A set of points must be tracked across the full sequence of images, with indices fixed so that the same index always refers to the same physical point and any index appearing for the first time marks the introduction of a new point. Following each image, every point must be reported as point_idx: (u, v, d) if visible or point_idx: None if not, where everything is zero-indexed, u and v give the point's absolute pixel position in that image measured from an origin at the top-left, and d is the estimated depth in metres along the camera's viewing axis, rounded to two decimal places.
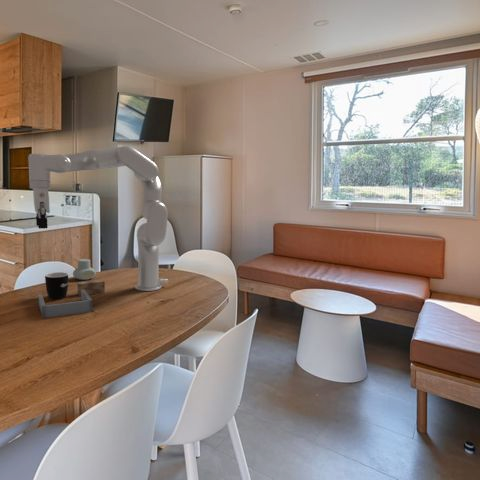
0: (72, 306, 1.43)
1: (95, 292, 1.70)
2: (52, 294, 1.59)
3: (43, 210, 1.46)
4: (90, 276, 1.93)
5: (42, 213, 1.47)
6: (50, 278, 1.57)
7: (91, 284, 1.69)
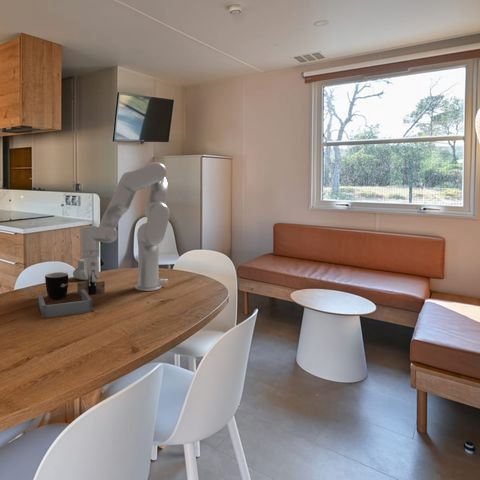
0: (72, 306, 1.43)
1: None
2: (52, 294, 1.59)
3: (94, 282, 1.65)
4: None
5: None
6: (50, 278, 1.57)
7: None
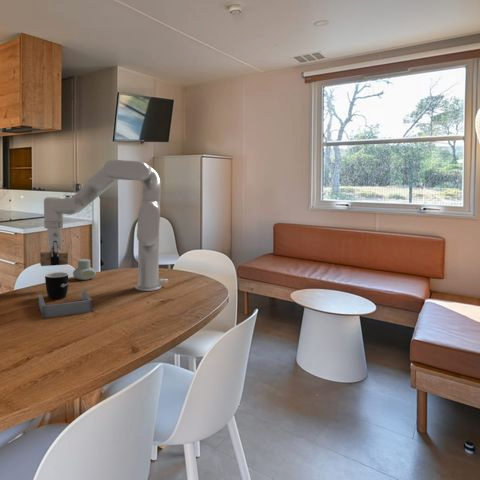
0: (72, 306, 1.43)
1: None
2: (52, 294, 1.59)
3: (56, 252, 1.67)
4: (90, 276, 1.93)
5: None
6: (50, 278, 1.57)
7: None
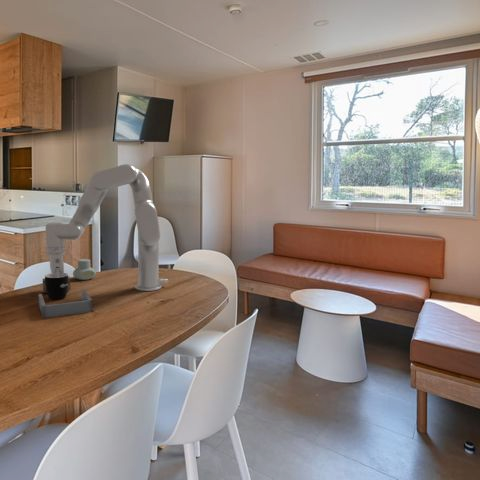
0: (72, 306, 1.43)
1: None
2: (52, 294, 1.58)
3: None
4: (90, 276, 1.93)
5: None
6: (50, 278, 1.57)
7: None
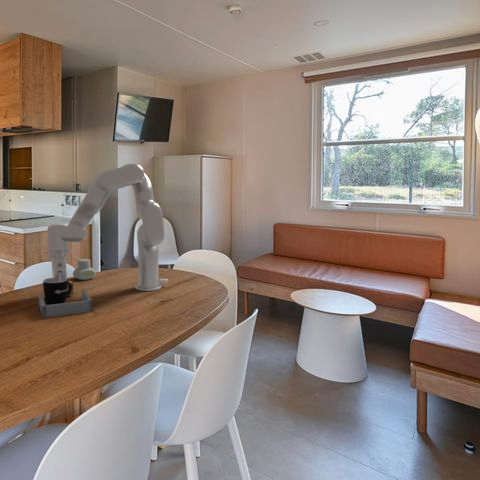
0: (72, 306, 1.43)
1: None
2: (47, 300, 1.51)
3: None
4: (90, 276, 1.93)
5: None
6: (45, 283, 1.50)
7: None
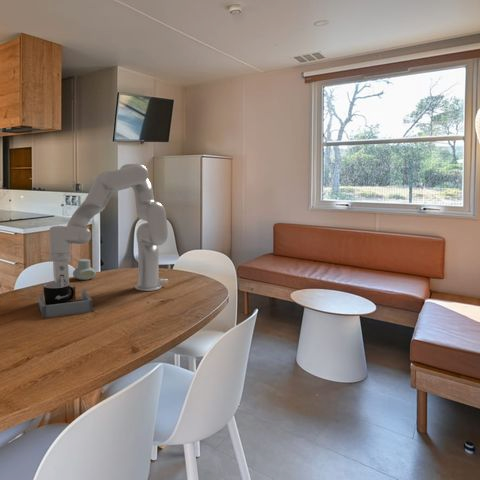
0: (72, 306, 1.43)
1: None
2: None
3: None
4: (90, 276, 1.93)
5: None
6: (45, 288, 1.43)
7: None
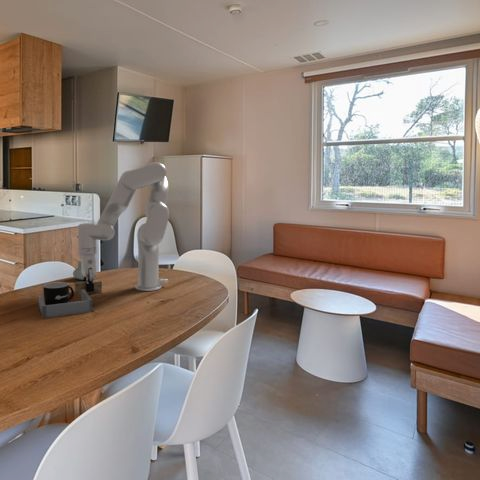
0: (72, 306, 1.43)
1: (92, 292, 1.70)
2: None
3: (91, 278, 1.64)
4: None
5: (90, 279, 1.64)
6: (45, 288, 1.43)
7: None
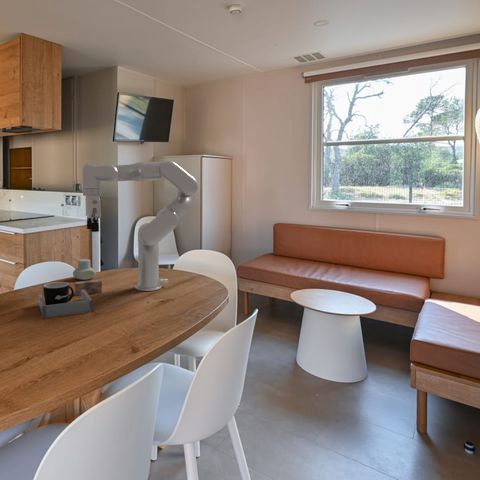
0: (72, 306, 1.43)
1: (92, 292, 1.70)
2: None
3: (96, 215, 1.63)
4: (90, 276, 1.93)
5: (95, 218, 1.64)
6: (45, 288, 1.43)
7: (88, 284, 1.69)
